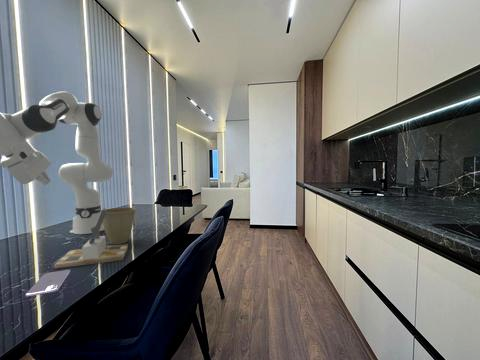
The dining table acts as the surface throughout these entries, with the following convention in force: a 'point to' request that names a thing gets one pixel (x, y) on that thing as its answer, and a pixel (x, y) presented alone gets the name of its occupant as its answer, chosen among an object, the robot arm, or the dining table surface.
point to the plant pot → (118, 224)
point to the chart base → (77, 259)
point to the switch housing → (94, 248)
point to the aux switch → (93, 231)
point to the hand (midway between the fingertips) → (48, 182)
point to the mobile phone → (48, 283)
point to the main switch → (98, 226)
